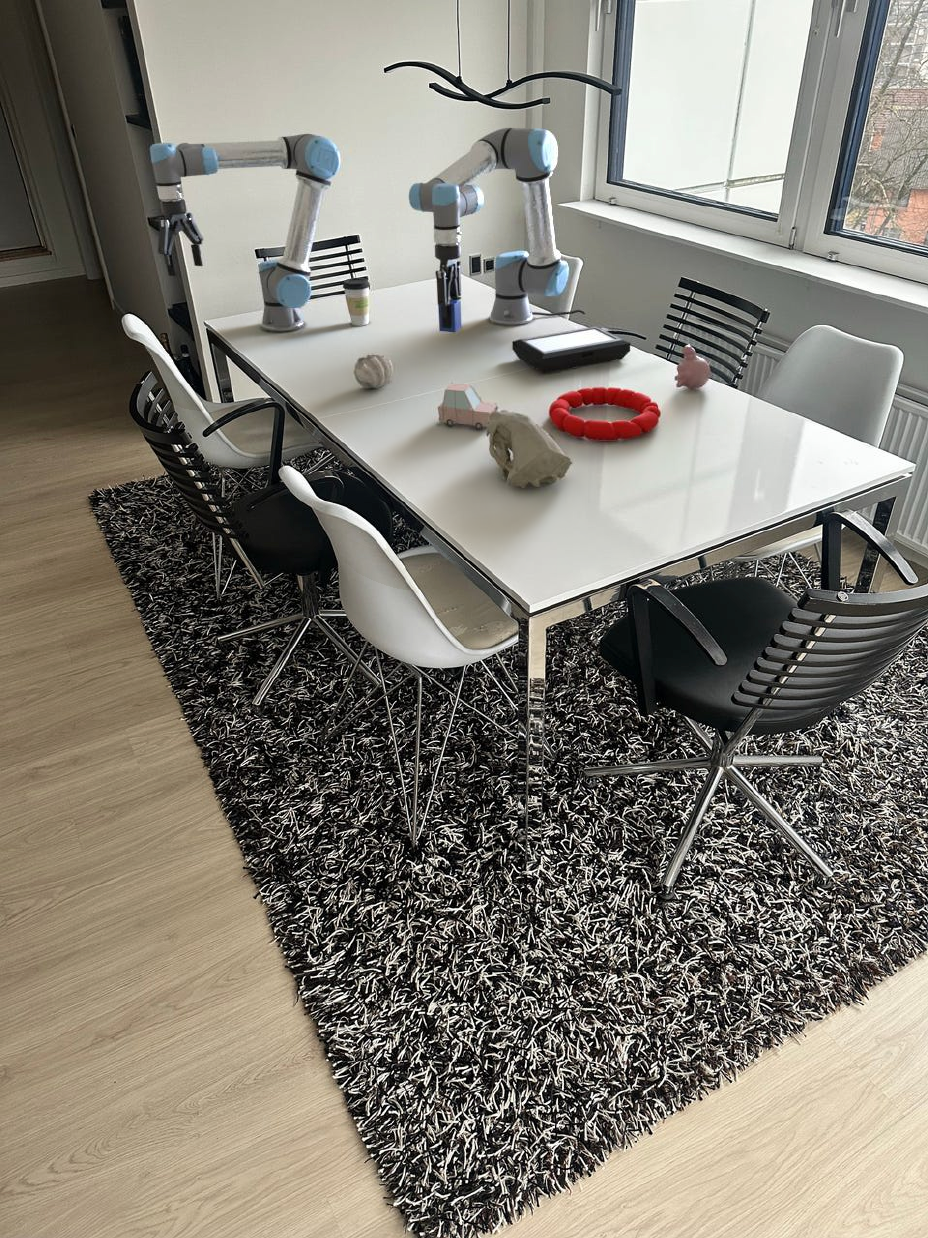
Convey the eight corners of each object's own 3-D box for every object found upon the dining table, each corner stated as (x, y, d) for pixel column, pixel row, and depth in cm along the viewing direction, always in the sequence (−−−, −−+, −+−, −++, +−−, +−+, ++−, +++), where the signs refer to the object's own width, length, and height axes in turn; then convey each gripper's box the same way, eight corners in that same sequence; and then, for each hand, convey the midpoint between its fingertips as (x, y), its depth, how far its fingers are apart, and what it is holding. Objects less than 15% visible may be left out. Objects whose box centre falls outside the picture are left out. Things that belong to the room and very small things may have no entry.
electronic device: (541, 356, 271) (512, 338, 286) (541, 376, 275) (512, 357, 290) (630, 340, 281) (597, 324, 296) (629, 359, 285) (596, 342, 300)
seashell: (346, 386, 272) (343, 354, 266) (390, 377, 278) (388, 345, 272) (359, 397, 264) (356, 364, 259) (405, 387, 270) (402, 354, 264)
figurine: (665, 387, 264) (669, 347, 257) (693, 380, 268) (698, 340, 261) (686, 396, 257) (690, 355, 250) (714, 388, 262) (720, 348, 255)
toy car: (488, 432, 240) (488, 396, 234) (436, 426, 244) (434, 390, 239) (499, 419, 247) (499, 384, 241) (448, 413, 252) (447, 379, 246)
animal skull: (496, 517, 219) (521, 479, 201) (463, 429, 225) (484, 384, 207) (557, 503, 225) (586, 465, 206) (523, 417, 231) (549, 373, 212)
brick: (455, 332, 268) (454, 304, 263) (439, 331, 270) (438, 302, 265) (461, 328, 272) (460, 299, 267) (445, 326, 273) (444, 298, 269)
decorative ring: (589, 435, 224) (684, 402, 234) (527, 398, 247) (617, 369, 256) (589, 461, 229) (683, 427, 238) (529, 422, 251) (617, 393, 260)
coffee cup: (372, 326, 323) (368, 283, 314) (345, 327, 323) (340, 284, 315) (374, 318, 331) (371, 276, 322) (348, 319, 331) (344, 277, 323)
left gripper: (156, 207, 267) (171, 280, 279) (206, 192, 286) (218, 262, 298) (136, 206, 269) (152, 279, 281) (186, 192, 288) (199, 260, 300)
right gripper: (446, 250, 249) (450, 334, 262) (471, 237, 262) (473, 317, 275) (422, 249, 251) (427, 332, 264) (448, 236, 265) (450, 315, 278)
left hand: (186, 270), depth 289 cm, fingers open, 13 cm apart
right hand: (450, 324), depth 270 cm, fingers closed on brick, 5 cm apart
